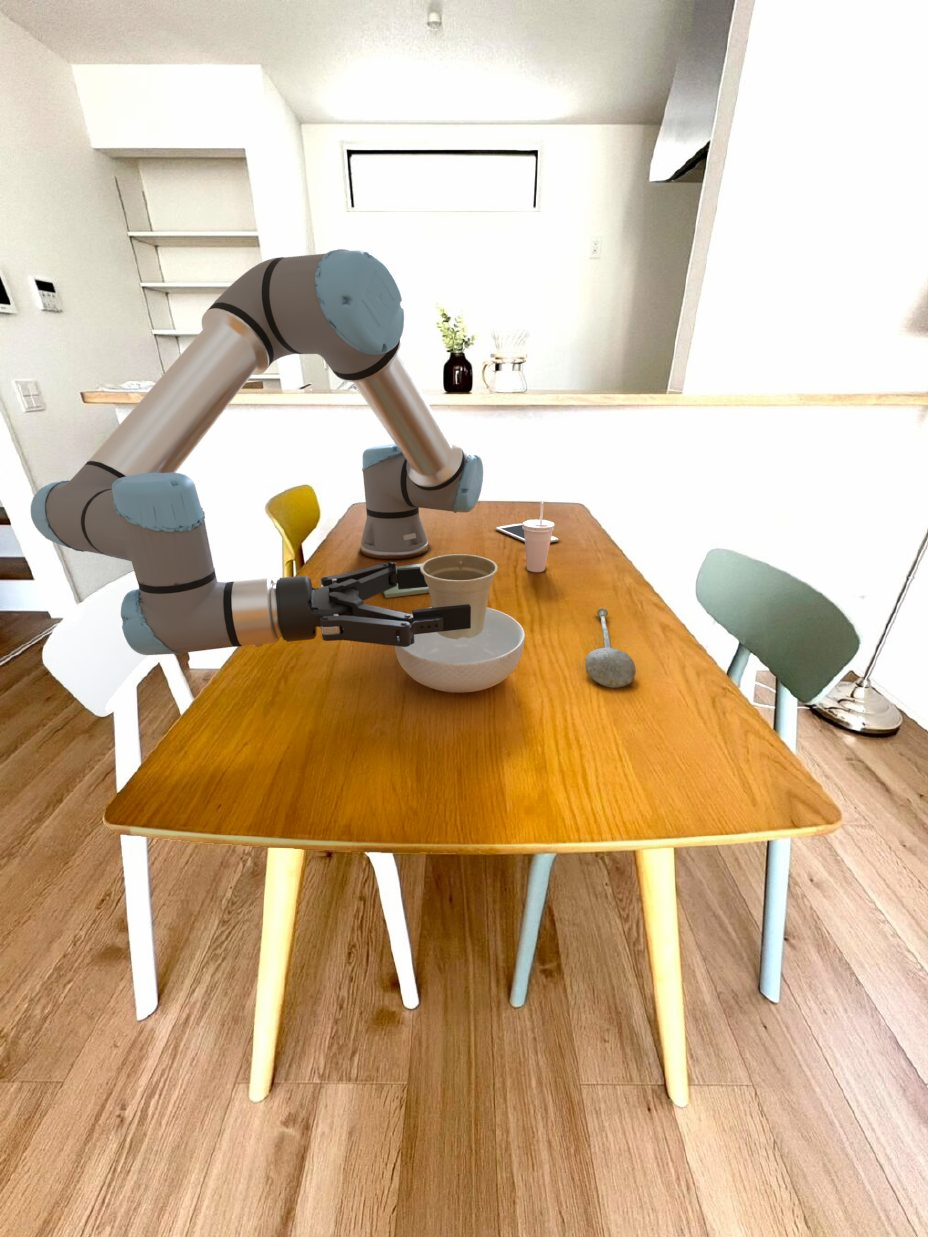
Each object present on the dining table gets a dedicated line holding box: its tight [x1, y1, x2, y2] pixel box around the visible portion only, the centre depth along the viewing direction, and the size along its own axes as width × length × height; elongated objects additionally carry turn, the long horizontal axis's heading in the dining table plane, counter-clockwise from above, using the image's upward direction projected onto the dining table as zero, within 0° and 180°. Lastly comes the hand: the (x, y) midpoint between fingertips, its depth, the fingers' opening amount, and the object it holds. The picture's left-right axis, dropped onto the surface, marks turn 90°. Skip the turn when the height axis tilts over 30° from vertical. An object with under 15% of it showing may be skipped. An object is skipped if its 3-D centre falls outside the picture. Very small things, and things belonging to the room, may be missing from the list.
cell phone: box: [495, 523, 559, 544], centre depth 130 cm, size 8×16×1 cm, turn 30°
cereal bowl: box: [394, 606, 526, 694], centre depth 69 cm, size 17×17×7 cm
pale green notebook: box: [382, 563, 429, 599], centre depth 102 cm, size 14×14×1 cm
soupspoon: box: [585, 607, 637, 689], centre depth 77 cm, size 22×3×7 cm
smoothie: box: [522, 501, 555, 573], centre depth 105 cm, size 6×6×14 cm
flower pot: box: [420, 553, 499, 639], centre depth 65 cm, size 9×9×9 cm
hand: (457, 593), depth 65 cm, fingers open, 13 cm apart
